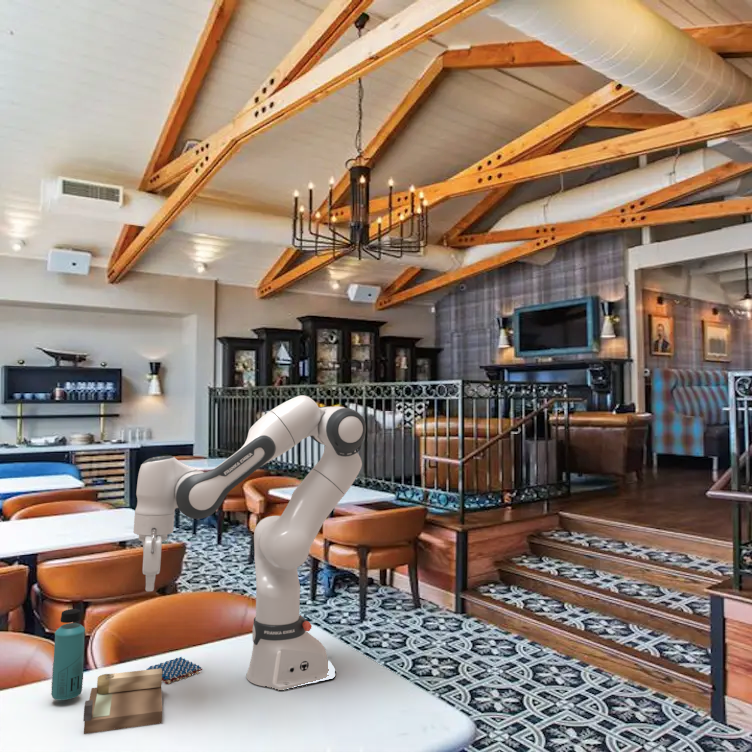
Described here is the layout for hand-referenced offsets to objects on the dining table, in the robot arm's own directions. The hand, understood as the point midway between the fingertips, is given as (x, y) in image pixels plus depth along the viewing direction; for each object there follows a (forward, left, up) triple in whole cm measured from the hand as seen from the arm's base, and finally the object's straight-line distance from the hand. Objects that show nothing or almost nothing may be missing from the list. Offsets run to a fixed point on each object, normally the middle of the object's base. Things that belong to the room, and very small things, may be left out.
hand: (149, 585), depth 144 cm
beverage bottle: (+16, -3, -26) cm, 31 cm away
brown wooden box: (+4, +6, -25) cm, 26 cm away
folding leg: (+3, +1, -23) cm, 23 cm away
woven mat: (-7, -12, -26) cm, 30 cm away
